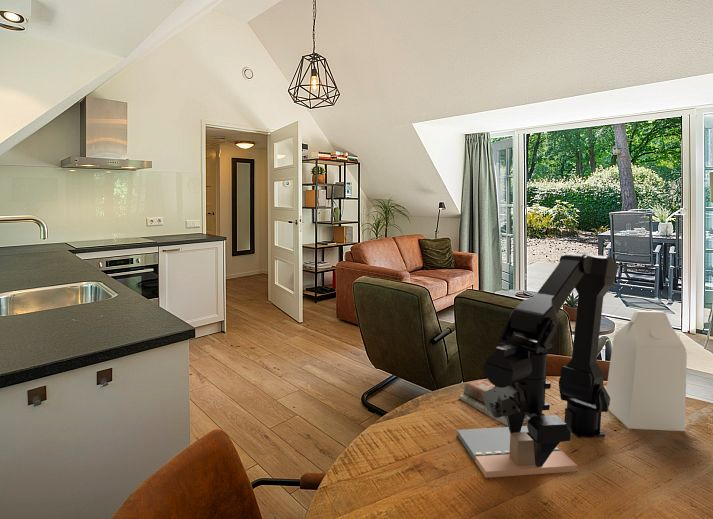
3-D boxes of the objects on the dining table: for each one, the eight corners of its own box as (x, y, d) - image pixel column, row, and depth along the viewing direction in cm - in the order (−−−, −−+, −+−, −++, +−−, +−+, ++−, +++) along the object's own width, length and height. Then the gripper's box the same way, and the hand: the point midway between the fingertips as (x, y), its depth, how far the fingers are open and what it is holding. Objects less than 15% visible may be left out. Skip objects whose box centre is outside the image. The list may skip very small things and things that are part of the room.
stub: (561, 456, 85) (562, 427, 84) (576, 471, 80) (578, 440, 79) (475, 462, 83) (476, 432, 82) (485, 477, 78) (486, 445, 77)
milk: (654, 407, 106) (662, 306, 104) (684, 431, 95) (694, 318, 92) (604, 405, 108) (610, 305, 105) (628, 428, 96) (636, 316, 94)
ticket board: (534, 430, 95) (534, 424, 95) (560, 455, 85) (560, 449, 85) (457, 435, 93) (457, 429, 93) (474, 461, 83) (474, 454, 83)
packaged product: (457, 382, 112) (485, 375, 116) (457, 399, 112) (484, 392, 117) (512, 409, 96) (541, 401, 100) (511, 430, 96) (540, 420, 101)
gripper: (469, 358, 88) (467, 430, 90) (512, 397, 70) (508, 486, 71) (520, 356, 89) (517, 427, 91) (575, 394, 71) (570, 481, 72)
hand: (525, 452), depth 81 cm, fingers open, 9 cm apart
